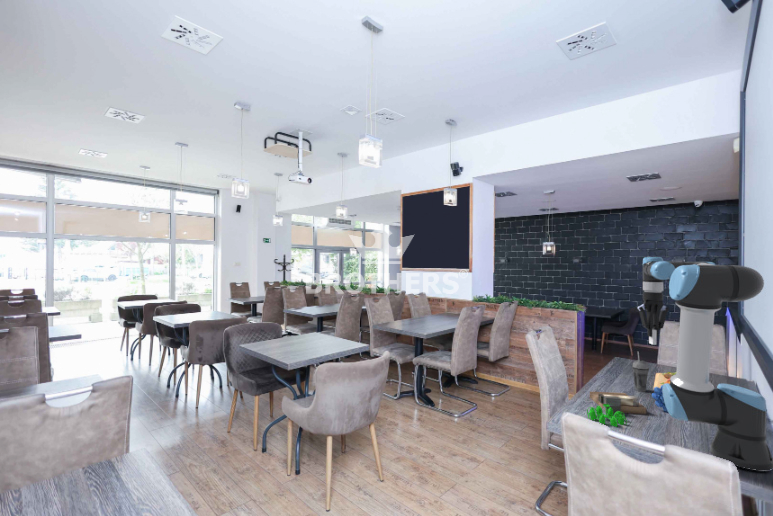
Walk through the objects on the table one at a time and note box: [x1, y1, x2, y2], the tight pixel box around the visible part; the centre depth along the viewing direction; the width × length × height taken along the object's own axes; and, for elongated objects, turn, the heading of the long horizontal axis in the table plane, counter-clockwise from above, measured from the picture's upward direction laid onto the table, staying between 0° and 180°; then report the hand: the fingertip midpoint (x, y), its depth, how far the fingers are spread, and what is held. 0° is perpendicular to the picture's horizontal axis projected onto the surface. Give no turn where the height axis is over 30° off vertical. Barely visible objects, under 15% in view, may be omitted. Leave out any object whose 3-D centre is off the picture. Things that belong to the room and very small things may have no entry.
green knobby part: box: [586, 404, 628, 428], centre depth 156 cm, size 15×15×7 cm
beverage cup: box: [631, 351, 650, 393], centre depth 191 cm, size 7×7×20 cm
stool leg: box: [598, 394, 640, 406], centre depth 166 cm, size 16×4×3 cm, turn 79°
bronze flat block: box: [589, 391, 647, 415], centre depth 171 cm, size 19×17×7 cm
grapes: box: [651, 385, 669, 413], centre depth 163 cm, size 12×7×12 cm, turn 58°
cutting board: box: [652, 371, 676, 391], centre depth 197 cm, size 35×23×8 cm
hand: (652, 343), depth 167 cm, fingers closed
